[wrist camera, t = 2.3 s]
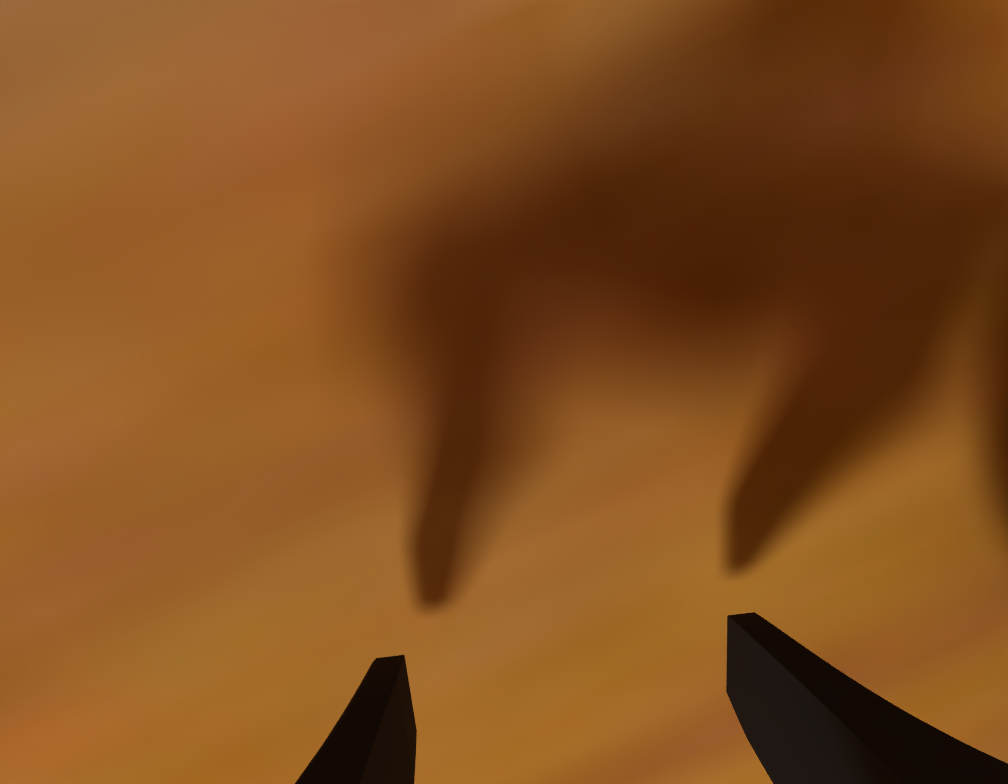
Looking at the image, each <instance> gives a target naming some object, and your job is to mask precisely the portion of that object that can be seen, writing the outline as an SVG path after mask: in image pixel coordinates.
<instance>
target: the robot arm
mask: <svg viewBox="0 0 1008 784" xmlns="http://www.w3.org/2000/svg"><path fill="white" fill-rule="evenodd" d="M726 692H727V694H728V696H729V699H730V701H731V703H732V706H733V708H734V710H735V713H736V715H737V717H738V719H739V722H740V724H741V726H742V728H743V730H744V732H745V735H746V737H747V739H748V741H749V742H750V744H751V746H752V748H753V750H754V751H755V753H756V755H757V756H758V758H759V760H760V762H761V763H762V765H763V767H764V768H765V770H766V772H767V774H768V775H769V777H770V779H771V780H772V782H773V784H1008V764H1007V763H1005V762H1003V761H1001V760H999V759H997V758H994V757H992V756H990V755H988V754H986V753H984V752H981V751H979V750H977V749H975V748H973V747H971V746H969V745H967V744H965V743H963V742H961V741H959V740H957V739H955V738H953V737H951V736H949V735H948V734H946V733H944V732H942V731H940V730H938V729H936V728H934V727H933V726H931V725H929V724H927V723H925V722H923V721H921V720H919V719H918V718H916V717H914V716H912V715H910V714H909V713H907V712H905V711H903V710H902V709H900V708H898V707H897V706H895V705H893V704H892V703H890V702H888V701H887V700H885V699H883V698H882V697H880V696H878V695H877V694H875V693H873V692H872V691H870V690H869V689H867V688H865V687H864V686H862V685H861V684H859V683H857V682H856V681H854V680H853V679H851V678H850V677H848V676H847V675H845V674H844V673H842V672H840V671H839V670H837V669H836V668H834V667H833V666H831V665H830V664H829V663H827V662H826V661H824V660H823V659H821V658H820V657H818V656H817V655H815V654H814V653H812V652H811V651H809V650H808V649H807V648H805V647H804V646H802V645H801V644H799V643H798V642H797V641H795V640H794V639H792V638H791V637H789V636H788V635H787V634H785V633H784V632H782V631H781V630H780V629H778V628H777V627H775V626H774V625H772V624H771V623H770V622H768V621H767V620H765V619H764V618H762V617H761V616H759V615H758V614H756V613H755V612H753V613H745V614H737V615H728V619H727V687H726ZM416 733H417V730H416V724H415V718H414V712H413V706H412V699H411V693H410V687H409V681H408V675H407V669H406V663H405V656H404V655H399V656H391V657H383V658H376V659H375V660H374V662H373V663H372V664H371V666H370V668H369V670H368V671H367V673H366V675H365V677H364V679H363V680H362V682H361V684H360V686H359V687H358V689H357V691H356V692H355V694H354V696H353V698H352V699H351V701H350V702H349V704H348V706H347V707H346V709H345V711H344V712H343V714H342V715H341V717H340V719H339V720H338V722H337V723H336V725H335V726H334V728H333V729H332V731H331V733H330V734H329V736H328V737H327V739H326V740H325V742H324V743H323V745H322V746H321V748H320V749H319V751H318V752H317V753H316V755H315V756H314V758H313V759H312V760H311V762H310V763H309V765H308V766H307V767H306V769H305V770H304V772H303V773H302V774H301V776H300V777H299V779H298V780H297V781H296V783H295V784H414V776H415V757H416Z"/></svg>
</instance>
